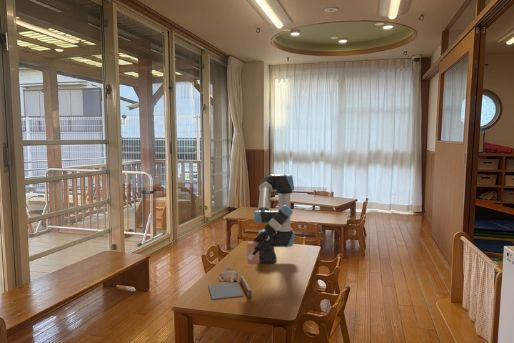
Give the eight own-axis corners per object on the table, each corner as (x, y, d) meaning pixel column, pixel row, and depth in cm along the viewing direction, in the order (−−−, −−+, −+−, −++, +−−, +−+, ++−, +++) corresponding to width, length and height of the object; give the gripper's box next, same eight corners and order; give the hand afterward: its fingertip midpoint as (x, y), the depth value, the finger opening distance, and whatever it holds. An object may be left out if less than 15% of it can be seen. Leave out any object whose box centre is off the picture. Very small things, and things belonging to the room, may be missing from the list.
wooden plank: (240, 281, 234) (240, 274, 234) (242, 280, 235) (242, 274, 234) (248, 297, 209) (248, 291, 209) (251, 297, 209) (251, 290, 209)
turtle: (241, 283, 238) (242, 267, 241) (238, 283, 229) (240, 267, 232) (218, 281, 241) (220, 266, 244) (214, 282, 232) (216, 265, 235)
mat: (208, 286, 227) (208, 285, 227) (237, 283, 231) (237, 282, 231) (212, 299, 207) (212, 298, 207) (243, 296, 211) (243, 295, 211)
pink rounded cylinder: (246, 261, 223) (245, 242, 221) (257, 259, 224) (256, 240, 223) (249, 265, 216) (248, 245, 215) (260, 263, 218) (259, 243, 216)
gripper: (282, 235, 213) (256, 265, 210) (272, 227, 232) (248, 255, 229) (272, 227, 211) (246, 258, 208) (263, 220, 230) (239, 248, 227)
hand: (247, 256), depth 219 cm, fingers closed on pink rounded cylinder, 7 cm apart
